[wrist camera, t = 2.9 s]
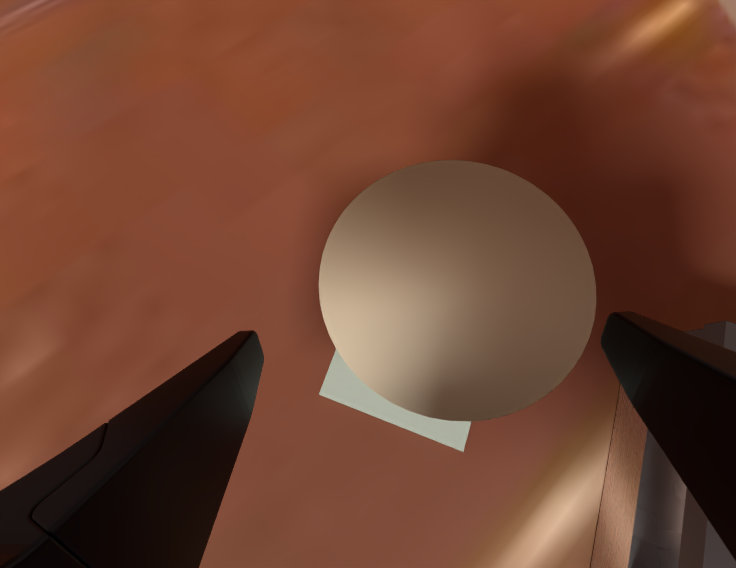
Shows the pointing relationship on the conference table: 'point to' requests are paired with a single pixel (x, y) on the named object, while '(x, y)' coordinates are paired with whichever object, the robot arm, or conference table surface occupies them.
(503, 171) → the tan tall cylinder
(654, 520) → the frame
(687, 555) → the guard plate
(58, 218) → the conference table surface
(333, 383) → the pad
